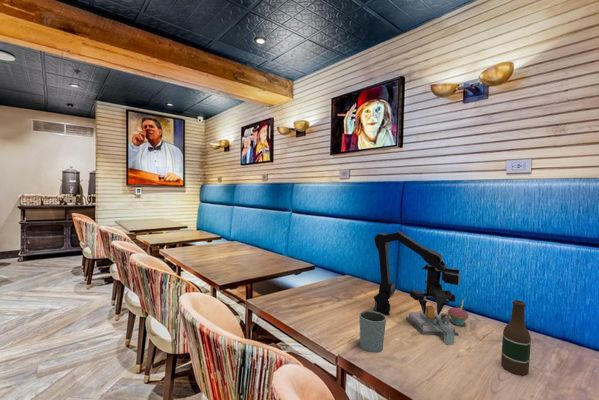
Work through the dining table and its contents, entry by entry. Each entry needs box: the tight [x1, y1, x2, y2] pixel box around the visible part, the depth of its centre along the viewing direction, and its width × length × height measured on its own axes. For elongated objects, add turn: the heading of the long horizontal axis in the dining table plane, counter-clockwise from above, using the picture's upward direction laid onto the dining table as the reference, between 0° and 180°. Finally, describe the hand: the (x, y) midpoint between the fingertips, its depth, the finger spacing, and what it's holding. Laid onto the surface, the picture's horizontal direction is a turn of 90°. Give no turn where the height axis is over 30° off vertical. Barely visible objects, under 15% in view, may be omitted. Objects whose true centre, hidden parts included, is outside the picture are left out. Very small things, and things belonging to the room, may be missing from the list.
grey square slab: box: [405, 311, 459, 345], centre depth 127 cm, size 16×24×6 cm
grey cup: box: [358, 310, 387, 354], centre depth 111 cm, size 10×10×12 cm
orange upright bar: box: [426, 305, 436, 319], centre depth 130 cm, size 3×3×8 cm
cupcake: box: [447, 299, 469, 327], centre depth 135 cm, size 9×8×12 cm
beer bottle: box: [500, 299, 532, 377], centre depth 100 cm, size 8×8×24 cm
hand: (431, 314), depth 130 cm, fingers open, 6 cm apart
